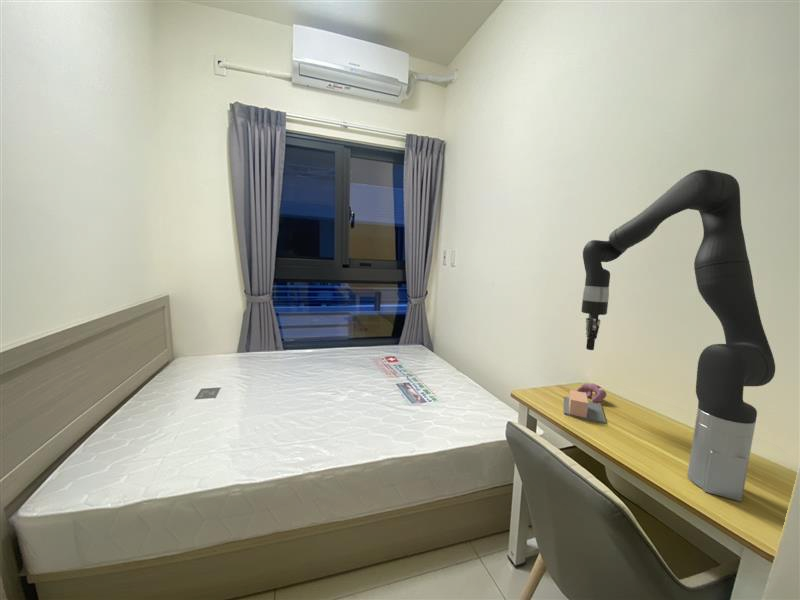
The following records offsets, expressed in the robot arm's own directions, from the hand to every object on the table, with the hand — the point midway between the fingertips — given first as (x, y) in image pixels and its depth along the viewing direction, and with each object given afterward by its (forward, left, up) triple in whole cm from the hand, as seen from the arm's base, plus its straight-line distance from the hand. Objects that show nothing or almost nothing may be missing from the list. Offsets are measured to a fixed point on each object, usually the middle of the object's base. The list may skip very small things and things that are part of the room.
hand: (589, 349), depth 111 cm
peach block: (+1, +2, -18) cm, 18 cm away
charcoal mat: (-1, 0, -21) cm, 21 cm away
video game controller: (+12, -3, -22) cm, 25 cm away
